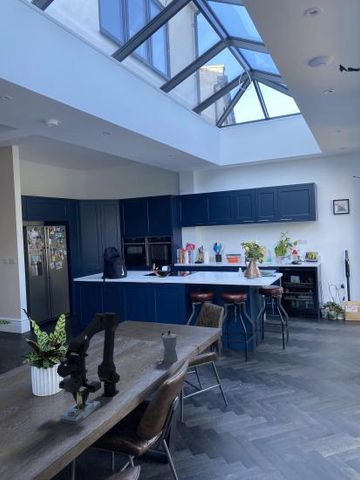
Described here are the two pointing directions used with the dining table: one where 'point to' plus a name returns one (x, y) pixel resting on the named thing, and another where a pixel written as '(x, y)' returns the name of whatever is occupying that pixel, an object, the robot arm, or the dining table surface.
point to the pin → (80, 400)
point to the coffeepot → (169, 347)
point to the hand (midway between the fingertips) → (80, 404)
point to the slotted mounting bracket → (78, 412)
